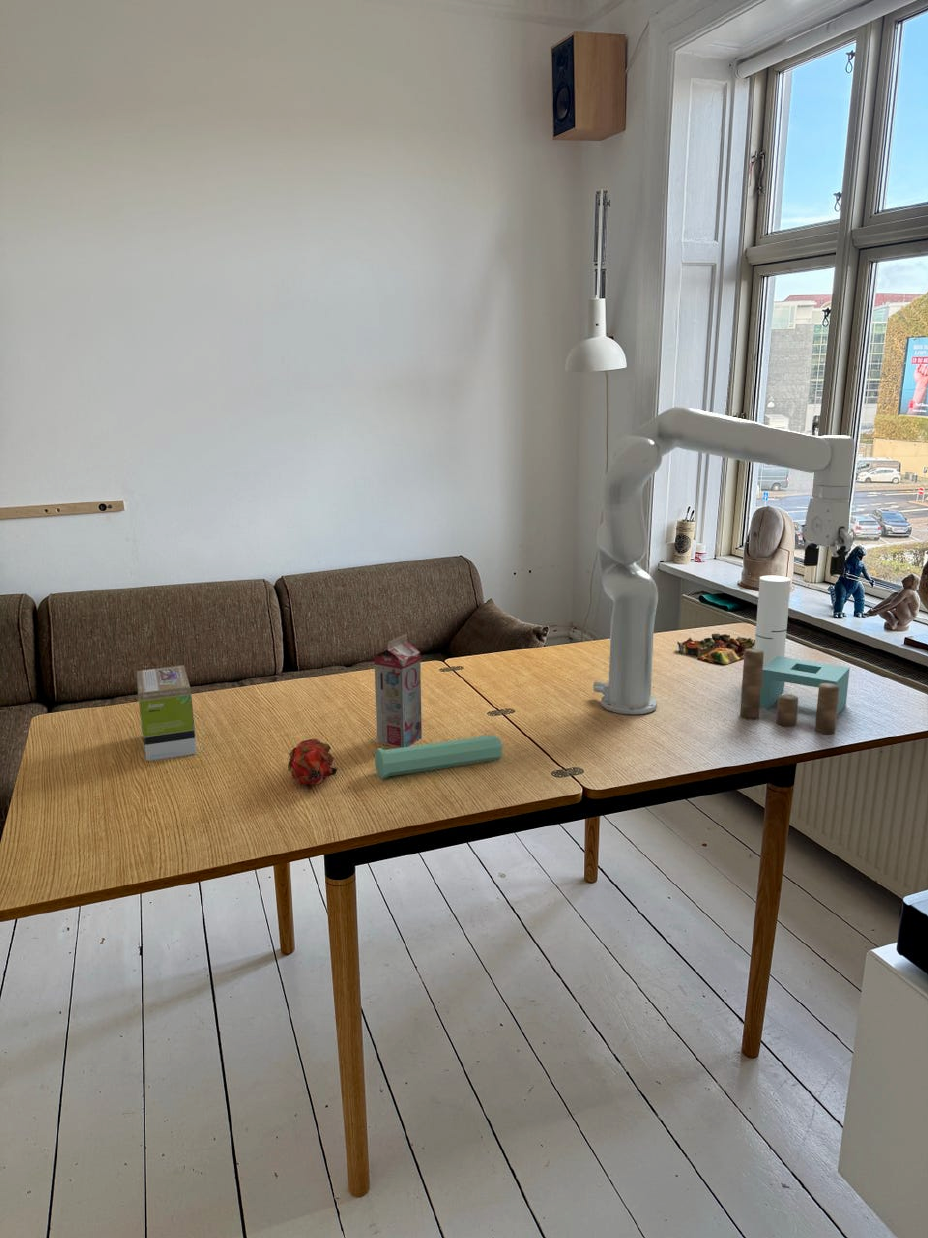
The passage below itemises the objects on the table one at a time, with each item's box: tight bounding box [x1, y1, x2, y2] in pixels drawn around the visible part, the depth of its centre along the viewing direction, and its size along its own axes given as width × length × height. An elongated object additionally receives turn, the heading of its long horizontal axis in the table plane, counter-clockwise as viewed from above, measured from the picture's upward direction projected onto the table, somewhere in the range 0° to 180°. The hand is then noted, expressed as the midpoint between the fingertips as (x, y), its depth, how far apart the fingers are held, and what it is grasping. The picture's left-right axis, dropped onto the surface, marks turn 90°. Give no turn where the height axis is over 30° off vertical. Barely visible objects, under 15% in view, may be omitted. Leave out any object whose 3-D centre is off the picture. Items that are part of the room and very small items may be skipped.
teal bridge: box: [759, 656, 851, 717], centre depth 209 cm, size 16×12×9 cm
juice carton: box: [373, 633, 423, 748], centre depth 189 cm, size 7×7×22 cm
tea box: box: [136, 664, 198, 762], centre depth 189 cm, size 15×10×15 cm
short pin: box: [775, 693, 799, 728], centre depth 199 cm, size 4×4×6 cm
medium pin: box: [814, 683, 839, 736], centre depth 194 cm, size 4×4×10 cm
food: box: [674, 633, 755, 665], centre depth 252 cm, size 22×19×4 cm
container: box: [374, 734, 503, 780], centre depth 179 cm, size 6×6×25 cm
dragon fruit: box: [287, 738, 339, 790], centre depth 172 cm, size 8×8×12 cm
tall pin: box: [739, 648, 764, 721], centre depth 202 cm, size 4×4×15 cm
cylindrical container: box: [753, 574, 792, 668], centre depth 228 cm, size 7×7×25 cm
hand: (823, 569), depth 207 cm, fingers open, 9 cm apart
